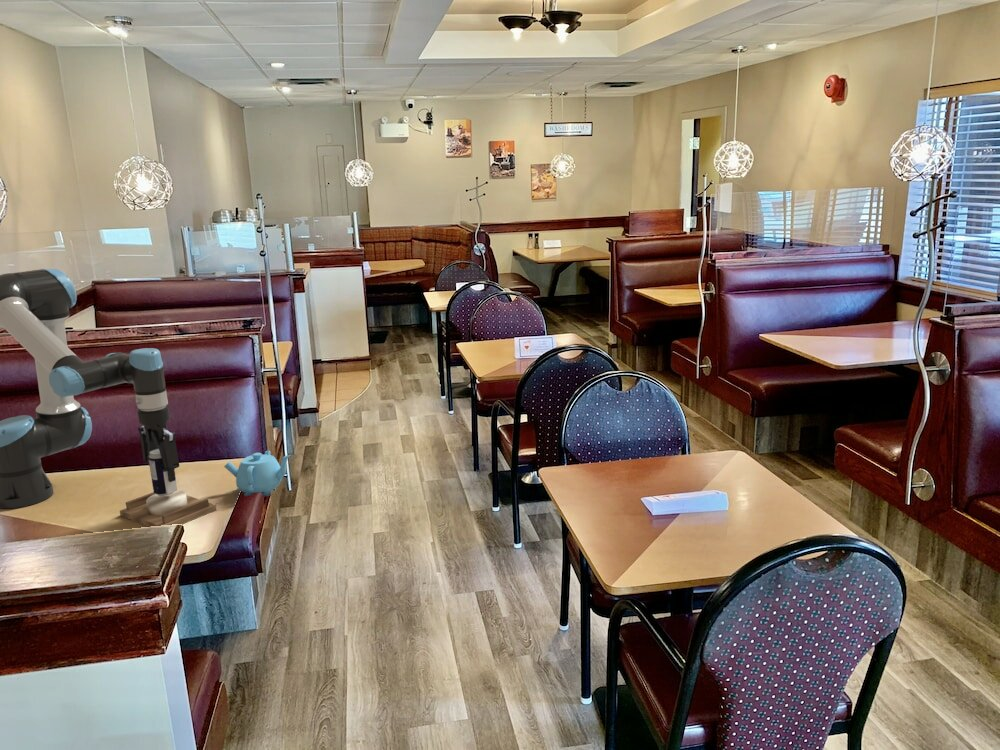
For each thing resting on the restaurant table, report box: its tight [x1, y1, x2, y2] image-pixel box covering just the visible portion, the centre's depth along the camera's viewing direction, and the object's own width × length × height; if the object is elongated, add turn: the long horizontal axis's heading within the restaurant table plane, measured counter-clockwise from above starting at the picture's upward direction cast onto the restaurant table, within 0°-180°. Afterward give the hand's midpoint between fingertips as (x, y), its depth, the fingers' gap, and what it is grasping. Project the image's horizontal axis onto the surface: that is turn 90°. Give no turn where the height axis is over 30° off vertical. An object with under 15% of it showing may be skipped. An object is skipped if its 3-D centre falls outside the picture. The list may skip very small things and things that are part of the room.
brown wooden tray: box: [119, 489, 217, 527], centre depth 210 cm, size 20×16×4 cm
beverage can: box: [148, 449, 173, 496], centre depth 208 cm, size 6×6×12 cm
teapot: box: [224, 450, 292, 497], centre depth 223 cm, size 15×14×11 cm
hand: (165, 489), depth 209 cm, fingers closed on beverage can, 6 cm apart
